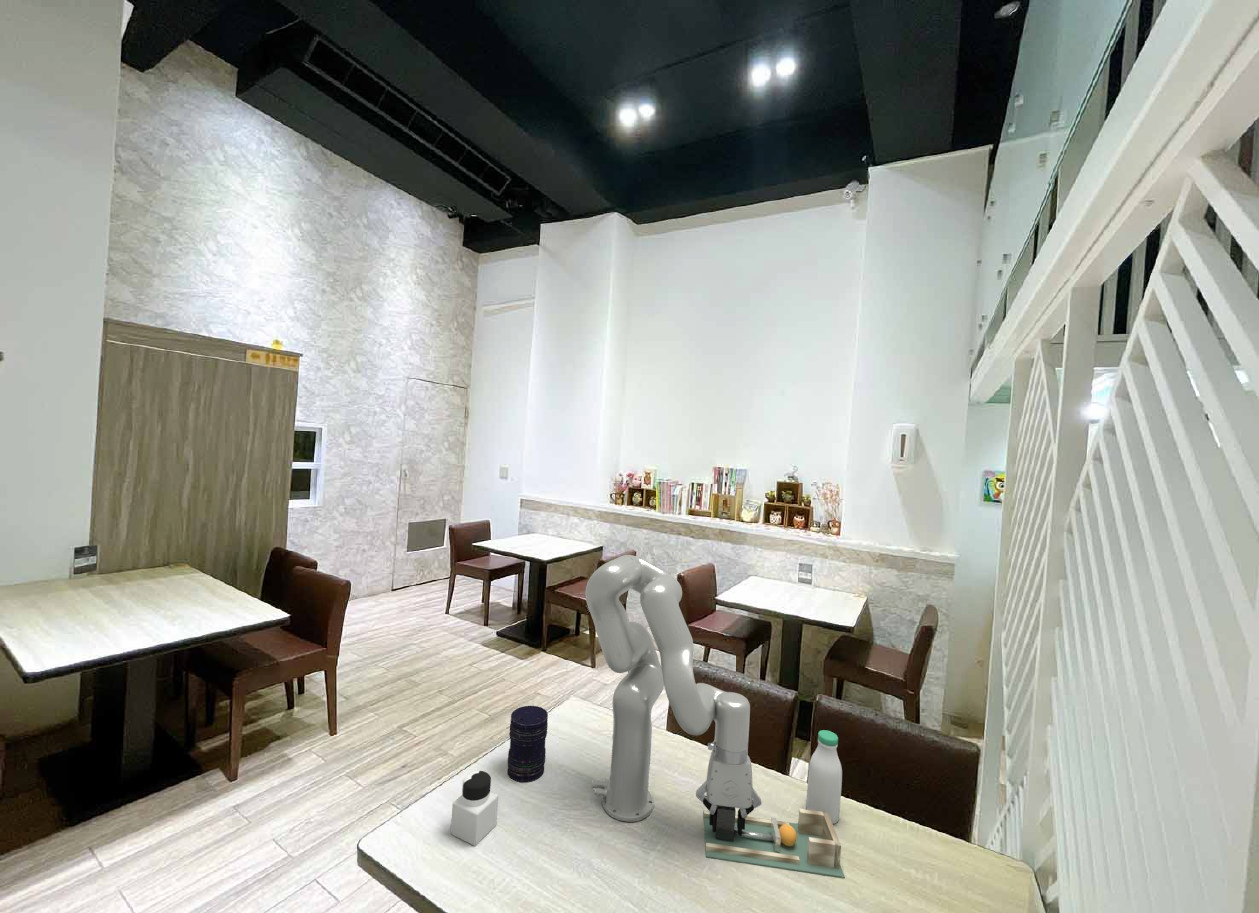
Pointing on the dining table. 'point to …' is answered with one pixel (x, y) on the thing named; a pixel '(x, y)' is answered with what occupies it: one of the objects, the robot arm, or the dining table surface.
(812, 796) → the milk bottle
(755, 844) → the mat
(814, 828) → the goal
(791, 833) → the ball
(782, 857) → the rails
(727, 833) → the kicker
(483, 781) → the medicine bottle
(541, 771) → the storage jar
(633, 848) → the dining table surface
